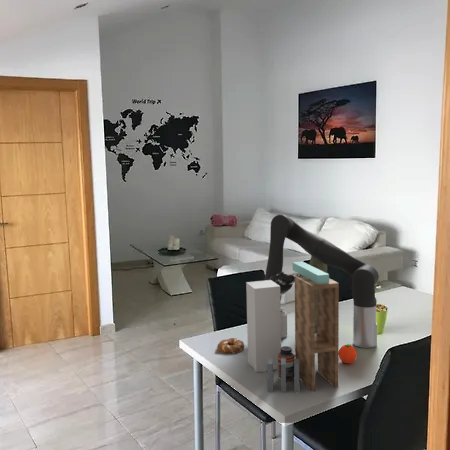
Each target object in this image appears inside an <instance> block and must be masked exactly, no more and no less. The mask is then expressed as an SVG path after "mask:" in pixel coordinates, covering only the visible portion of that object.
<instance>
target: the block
mask: <svg viewBox="0 0 450 450" xmlns="http://www.w3.org/2000/svg"><path fill="white" fill-rule="evenodd" d="M292 271H294V273H299V274H300V275H302V276H304V277H306V278H308V279H310V280H311V281H313V282H315V283H317V284H325V283H329V278H330V274H329V273H328V272H327V273H325V272H323V271H321V270H319V269H317V268H315V267H313V266H311V265H310V263H306V262H304V261H294V262H292Z"/></svg>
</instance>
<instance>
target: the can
mask: <svg viewBox="0 0 450 450" xmlns="http://www.w3.org/2000/svg"><path fill="white" fill-rule="evenodd" d="M287 335H288V313H287V312H286V309H284V308H281V339H285V338H286V336H287Z"/></svg>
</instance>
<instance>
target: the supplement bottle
mask: <svg viewBox="0 0 450 450" xmlns="http://www.w3.org/2000/svg"><path fill="white" fill-rule="evenodd" d="M281 358H286V382H287V381H293V380H294V359H295V353H294V352H293V350H292V347H291V346H289V345H287V346H286V345H283V346H281V352H280V353H279V354H278V369H277V371H278V372H277V373H278V374H277V375H278V379H280V380H281Z"/></svg>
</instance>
